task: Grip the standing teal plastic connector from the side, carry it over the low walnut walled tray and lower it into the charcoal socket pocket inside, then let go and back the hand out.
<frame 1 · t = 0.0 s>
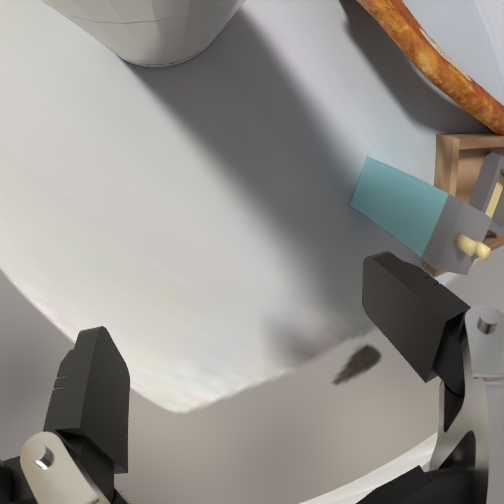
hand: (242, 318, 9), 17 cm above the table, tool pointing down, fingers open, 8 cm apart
socket: (489, 192, 32), resting on walled box
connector: (377, 187, 28), on the table
bone: (439, 70, 24), on the table, touching walled box
walled box: (483, 192, 33), on the table
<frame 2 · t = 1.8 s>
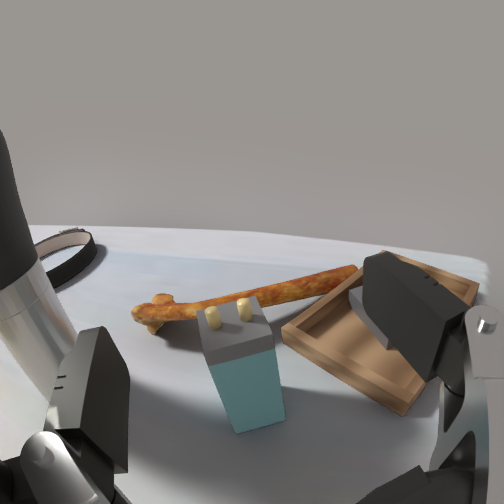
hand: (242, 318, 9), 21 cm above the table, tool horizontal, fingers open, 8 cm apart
socket: (396, 313, 36), resting on walled box
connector: (254, 408, 28), on the table
bone: (255, 316, 42), on the table, touching walled box
belt: (52, 268, 69), on the table
walled box: (393, 321, 36), on the table
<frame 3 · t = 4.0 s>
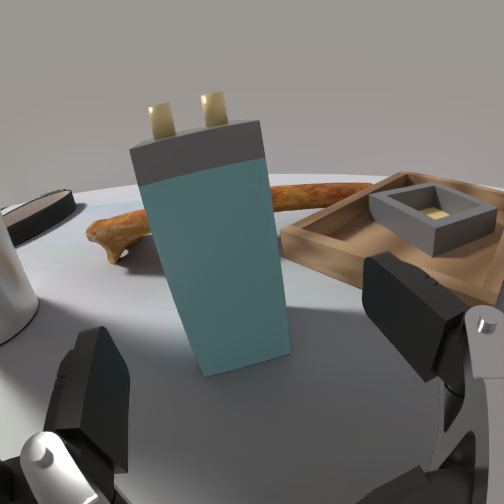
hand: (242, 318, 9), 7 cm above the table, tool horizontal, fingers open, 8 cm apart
socket: (433, 224, 26), resting on walled box
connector: (238, 337, 18), on the table
bone: (247, 237, 32), on the table, touching walled box
belt: (28, 228, 59), on the table
walled box: (430, 233, 26), on the table
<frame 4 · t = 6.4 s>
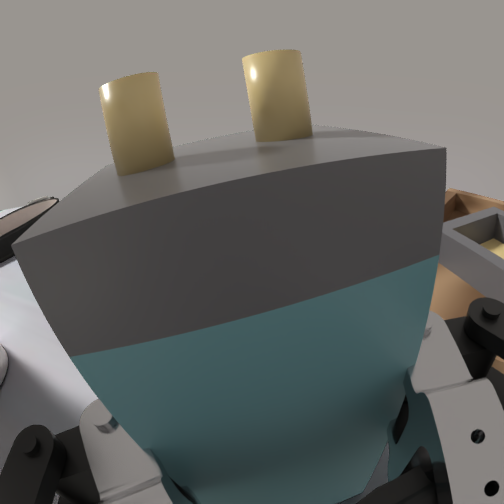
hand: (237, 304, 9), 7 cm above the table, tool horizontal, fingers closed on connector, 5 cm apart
socket: (501, 265, 18), resting on walled box
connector: (283, 467, 10), on the table, touching gripper
belt: (12, 242, 51), on the table
walled box: (499, 277, 18), on the table
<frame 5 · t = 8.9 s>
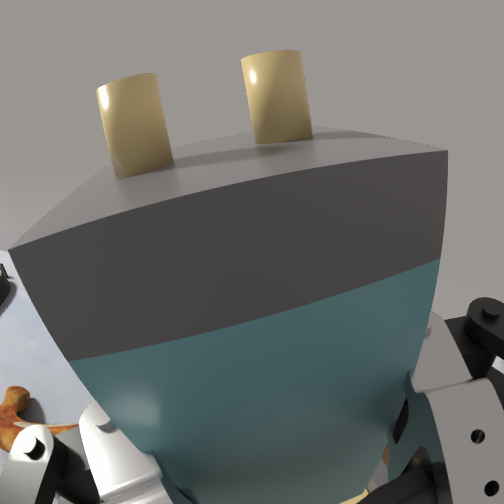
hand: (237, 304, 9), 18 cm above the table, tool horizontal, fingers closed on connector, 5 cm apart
socket: (313, 489, 17), resting on walled box
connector: (283, 468, 10), point 11 cm above the table, touching gripper
bone: (108, 443, 23), on the table, touching walled box
when the fingers open (9 cm above the table, at t = 11.8 s): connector drops 1 cm, resting on socket.
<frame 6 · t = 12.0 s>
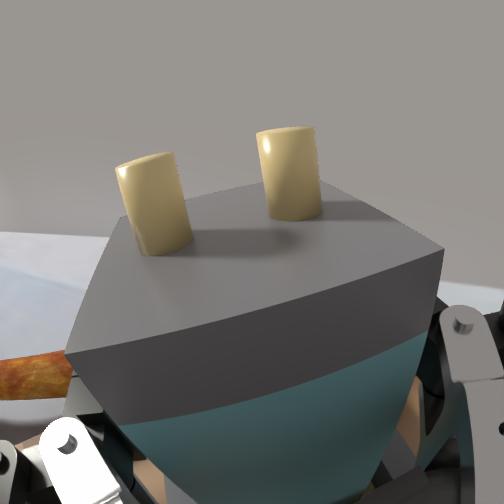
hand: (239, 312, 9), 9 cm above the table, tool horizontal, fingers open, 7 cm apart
socket: (285, 478, 11), resting on walled box
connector: (286, 478, 11), point 1 cm above the table, touching socket
bone: (38, 399, 17), on the table, touching walled box
walled box: (271, 495, 11), on the table
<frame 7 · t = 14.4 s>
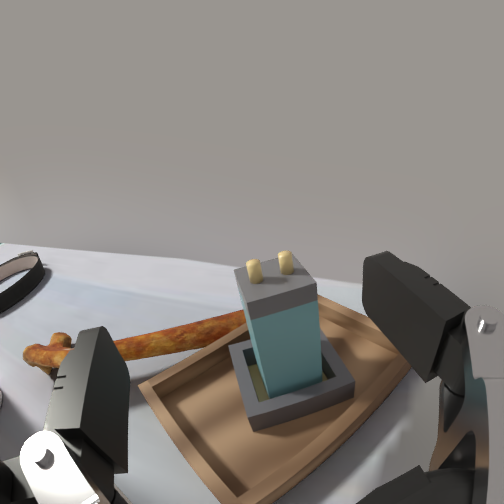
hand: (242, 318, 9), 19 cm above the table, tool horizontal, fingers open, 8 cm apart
socket: (288, 380, 28), resting on walled box
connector: (289, 379, 28), point 1 cm above the table, touching socket
bone: (138, 364, 35), on the table, touching walled box
belt: (6, 291, 63), on the table
walled box: (282, 389, 28), on the table
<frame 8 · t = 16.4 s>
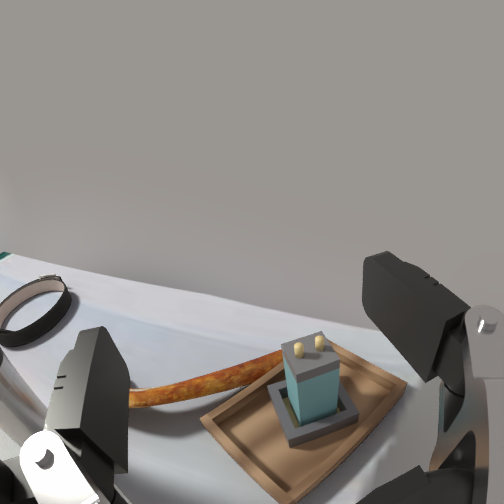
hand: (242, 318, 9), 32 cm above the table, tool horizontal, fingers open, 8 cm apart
socket: (311, 409, 38), resting on walled box
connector: (312, 409, 38), point 1 cm above the table, touching socket
bone: (189, 397, 44), on the table, touching walled box
belt: (33, 315, 71), on the table
walled box: (307, 416, 37), on the table
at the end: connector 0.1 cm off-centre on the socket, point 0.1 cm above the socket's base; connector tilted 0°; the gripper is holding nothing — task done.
